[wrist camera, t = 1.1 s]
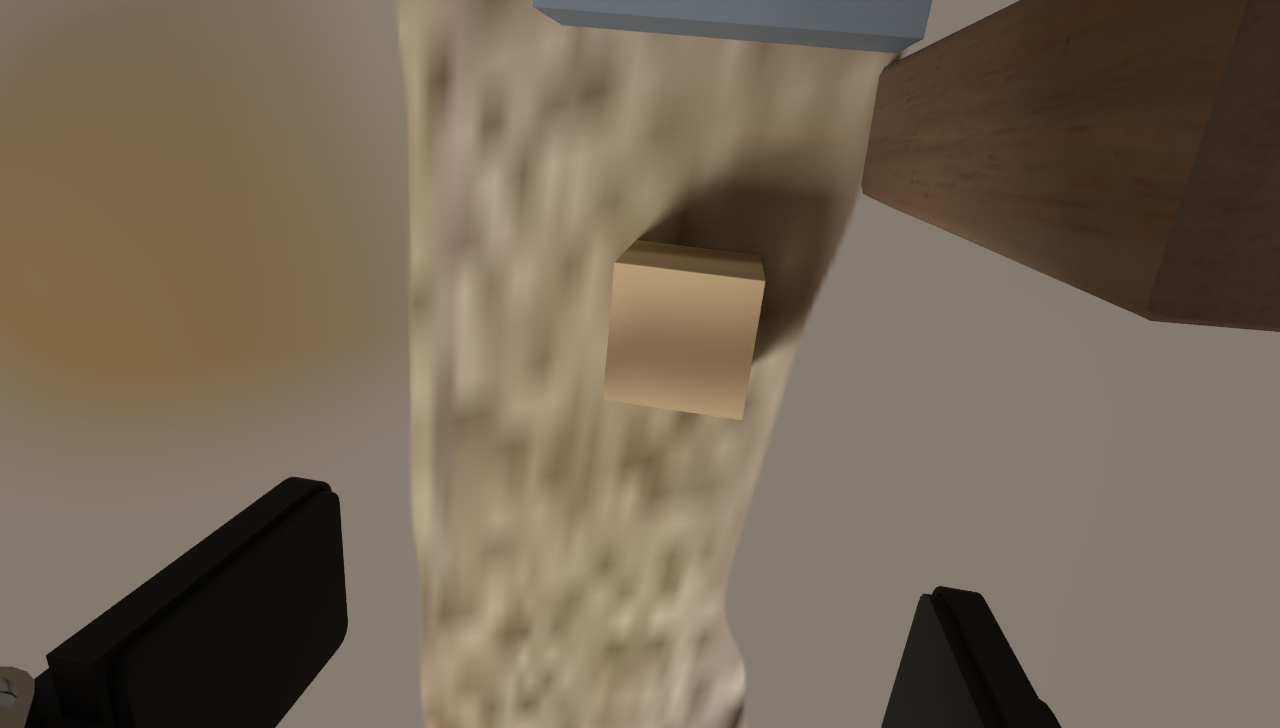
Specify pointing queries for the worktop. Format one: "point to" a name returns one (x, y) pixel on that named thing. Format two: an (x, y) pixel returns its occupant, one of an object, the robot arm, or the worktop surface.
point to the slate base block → (758, 20)
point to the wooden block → (1101, 149)
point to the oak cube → (683, 328)
